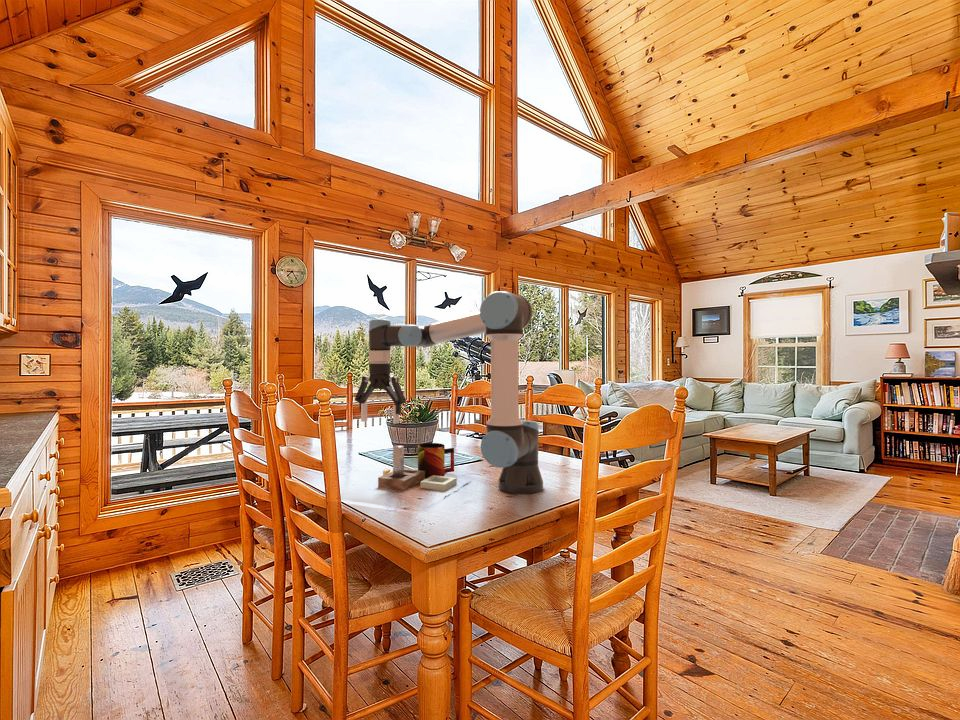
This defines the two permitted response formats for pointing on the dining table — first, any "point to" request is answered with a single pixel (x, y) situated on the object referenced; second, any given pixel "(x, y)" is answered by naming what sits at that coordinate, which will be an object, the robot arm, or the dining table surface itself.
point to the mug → (434, 459)
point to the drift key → (386, 471)
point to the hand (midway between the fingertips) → (379, 422)
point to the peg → (398, 461)
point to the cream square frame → (438, 482)
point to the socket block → (401, 479)
